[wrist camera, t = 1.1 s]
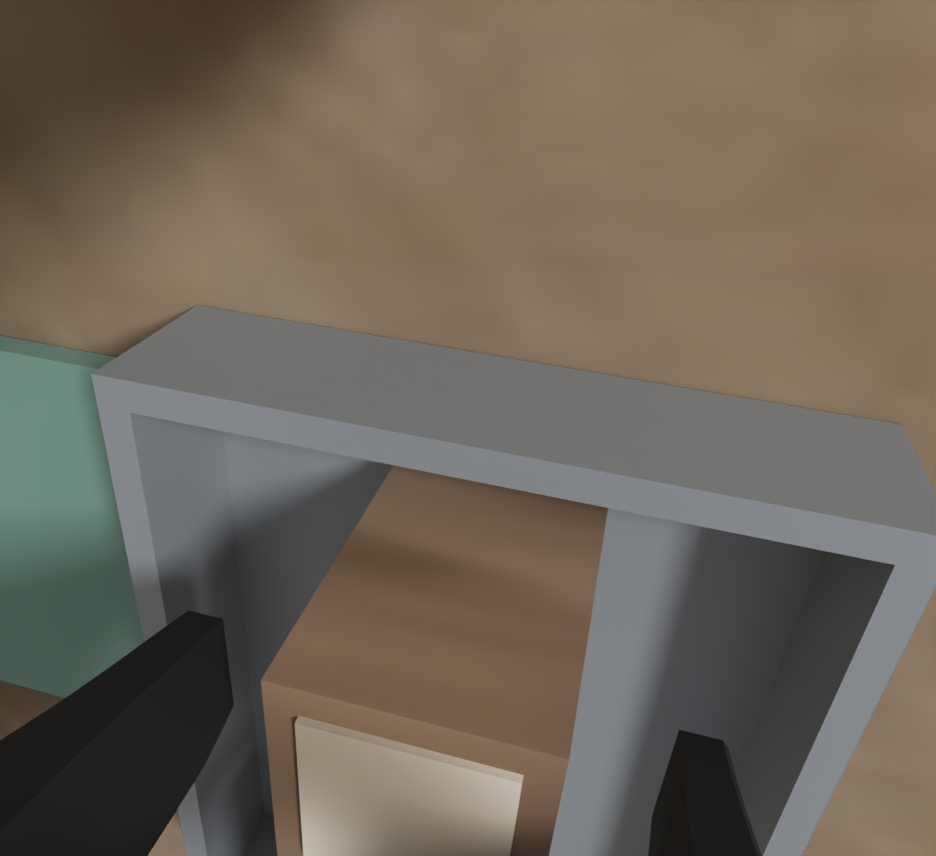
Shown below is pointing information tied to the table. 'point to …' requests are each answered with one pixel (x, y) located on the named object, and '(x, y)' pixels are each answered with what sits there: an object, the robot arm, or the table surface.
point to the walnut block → (435, 675)
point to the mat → (58, 525)
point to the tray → (552, 474)
